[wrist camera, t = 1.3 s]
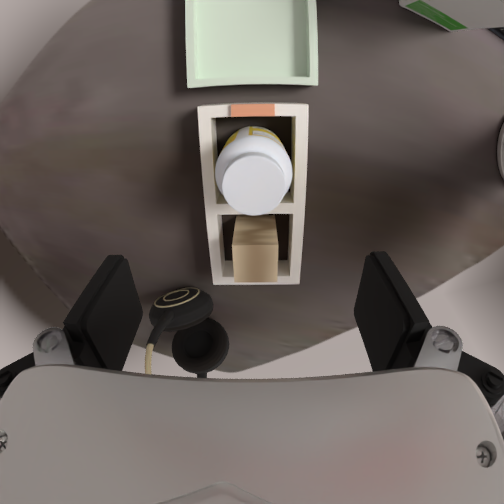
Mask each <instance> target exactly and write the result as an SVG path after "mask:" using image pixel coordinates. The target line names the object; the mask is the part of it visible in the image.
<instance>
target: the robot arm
mask: <svg viewBox="0 0 504 504" xmlns="http://www.w3.org/2000/svg"><path fill="white" fill-rule="evenodd" d="M497 160H498V166H499V170H500V174H501V176H502V178H503V180H504V123H503V125H502V128H501V130H500V134H499V138H498V145H497ZM142 316H143V311H142V307H141V304H140V301H139V298H138V294H137V291H136V288H135V285H134V281H133V278H132V274H131V271H130V267H129V263H128V260H127V259H124V257H123V256H122V255H108V256H107V258H106V259H105V260H104V262H103V263H102V265H101V266H100V267H99V269H98V270H97V272H96V273H95V275H94V276H93V277H92V279H91V280H90V282H89V283H88V285H87V286H86V288H85V289H84V291H83V292H82V294H81V295H80V297H79V298H78V300H77V301H76V303H75V304H74V306H73V308H72V309H71V311H70V312H69V314H68V316H67V317H66V319H65V320H64V322H63V323H64V325H65V326H64V328H63V330H62V329H60V328H57V327H52V328H48V329H45V330H44V331H42V332H41V333H40V334H39V335H38V336H37V337H36V338H35V340H34V343H33V353H31V354H29V355H27V356H25V357H23V358H21V359H19V360H17V361H15V362H13V363H12V364H10V365H8V366H6V367H4V368H2V369H1V370H0V504H504V375H503V374H502V373H501V371H499V370H498V369H497V368H495V367H493V366H491V365H489V364H487V363H485V362H483V361H481V360H479V359H477V358H475V357H473V356H471V355H469V354H467V353H465V352H463V351H462V346H463V345H462V340H461V338H460V337H459V335H458V334H457V333H456V332H455V331H454V330H452V329H450V328H448V327H444V326H436V327H433V328H432V326H431V325H430V323H429V320H428V318H427V317H426V315H425V313H424V311H423V310H422V308H421V307H420V305H419V303H418V301H417V300H416V298H415V296H414V295H413V293H412V291H411V290H410V288H409V286H408V285H407V283H406V282H405V280H404V279H403V277H402V275H401V274H400V272H399V271H398V269H397V268H396V266H395V265H394V263H393V262H392V260H391V259H390V257H389V256H388V254H387V253H386V252H384V251H383V252H371V253H370V255H367V256H366V259H365V263H364V268H363V273H362V277H361V282H360V286H359V290H358V295H357V299H356V303H355V307H354V316H355V319H356V322H357V325H358V328H359V331H360V333H361V336H362V339H363V342H364V345H365V348H366V351H367V354H368V357H369V360H370V363H371V367H372V370H373V372H365V373H355V374H345V375H333V376H321V377H306V378H281V379H215V378H214V379H213V378H193V377H177V376H176V377H175V376H163V375H152V374H142V373H133V372H126V371H122V369H123V366H124V364H125V361H126V358H127V356H128V353H129V350H130V348H131V345H132V342H133V340H134V337H135V335H136V332H137V330H138V327H139V324H140V322H141V319H142Z"/></svg>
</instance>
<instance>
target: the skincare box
mask: <svg viewBox="0 0 504 504" xmlns="http://www.w3.org/2000/svg"><path fill="white" fill-rule="evenodd" d="M399 5H400V6H401V7H404V8H406V9H408V10H410V11H412V12H414V13H416V14H418V15H420V16H422V17H424V18H426V19H428V20H430V21H432V22H434V23H436V24H438V25H439V26H441V27H443V28H445V29H446V30H448V31H450V32H458V31H465V30H473V29H483V28H495V27H504V0H399Z"/></svg>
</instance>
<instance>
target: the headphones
mask: <svg viewBox="0 0 504 504" xmlns="http://www.w3.org/2000/svg"><path fill="white" fill-rule="evenodd" d="M212 310H213V302H212V298H211V297H210V295H209V294H207V293H206V292H204V291H202V290H199V289H197V288H183V289H178V290H175V291H172V292H169V293H167V294H165V295H163V296H161V297H159V298H158V299H157V300H156V301H155V302H154V304H153V306H152V308H151V310H150V313H149V318H150V321H151V324H152V325H153V326H154V329H153V330H152V332H151V335H150V337H149V339H148V342H147V348H146V355H145V374H151V356H152V350H153V347H155V345H156V343H157V340H158V338H159V336H160V334H161V333H162V331H167V332H171V331H177V333H176V334H175V336H174V339H173V342H172V353H173V357H174V359H175V361H176V362H177V364H178V365H179V366H180V367H182V368H183V369H184V370H186V371H188V372H191V373H195V374H197V378H207V372H210V371H212V370H214V369H215V368H217V367H218V366H219V365H220V364H221V363H222V362H223V361H224V359H225V357H226V355H227V353H228V349H229V340H228V336H227V333H226V331H225V330H224V328H223V327H222V326H221V325H220V324H219V323H218V322H216V321H215V320H212V319H209V318H207V317H208V316H209V315H210V314H211V312H212Z"/></svg>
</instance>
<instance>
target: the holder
mask: <svg viewBox="0 0 504 504" xmlns="http://www.w3.org/2000/svg"><path fill="white" fill-rule="evenodd" d="M247 116H292V129H291V164H292V181H291V184H290V192H287V193H286V194H285V195H284V197H283V199H282V200H281V202H280V203H279V205H278V206H277V207H276V208H274V209H273V210H272V211H270V212H268V213H265V214H290V215H289V240H288V260H278V274H277V282H234V269H233V261H225V254H224V241H223V228H222V215H228V214H242V213H240V212H238V211H236V210H234V209H233V208H232V207H231V206H230V205H229V204H228V203H227V201H226V200H225V198H224V196H223V195H222V193H220V190H219V188H218V186H217V183H216V178H215V167H216V162H217V160H218V152H217V134H216V117H247ZM198 124H199V139H200V153H201V166H202V179H203V191H204V202H205V212H206V223H207V233H208V242H209V252H210V261H211V269H212V278H213V285H274V284H299V282H300V270H301V258H302V245H303V231H304V215H305V197H306V176H307V150H308V104H304V103H278V102H258V103H226V104H210V105H202V106H198Z"/></svg>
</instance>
